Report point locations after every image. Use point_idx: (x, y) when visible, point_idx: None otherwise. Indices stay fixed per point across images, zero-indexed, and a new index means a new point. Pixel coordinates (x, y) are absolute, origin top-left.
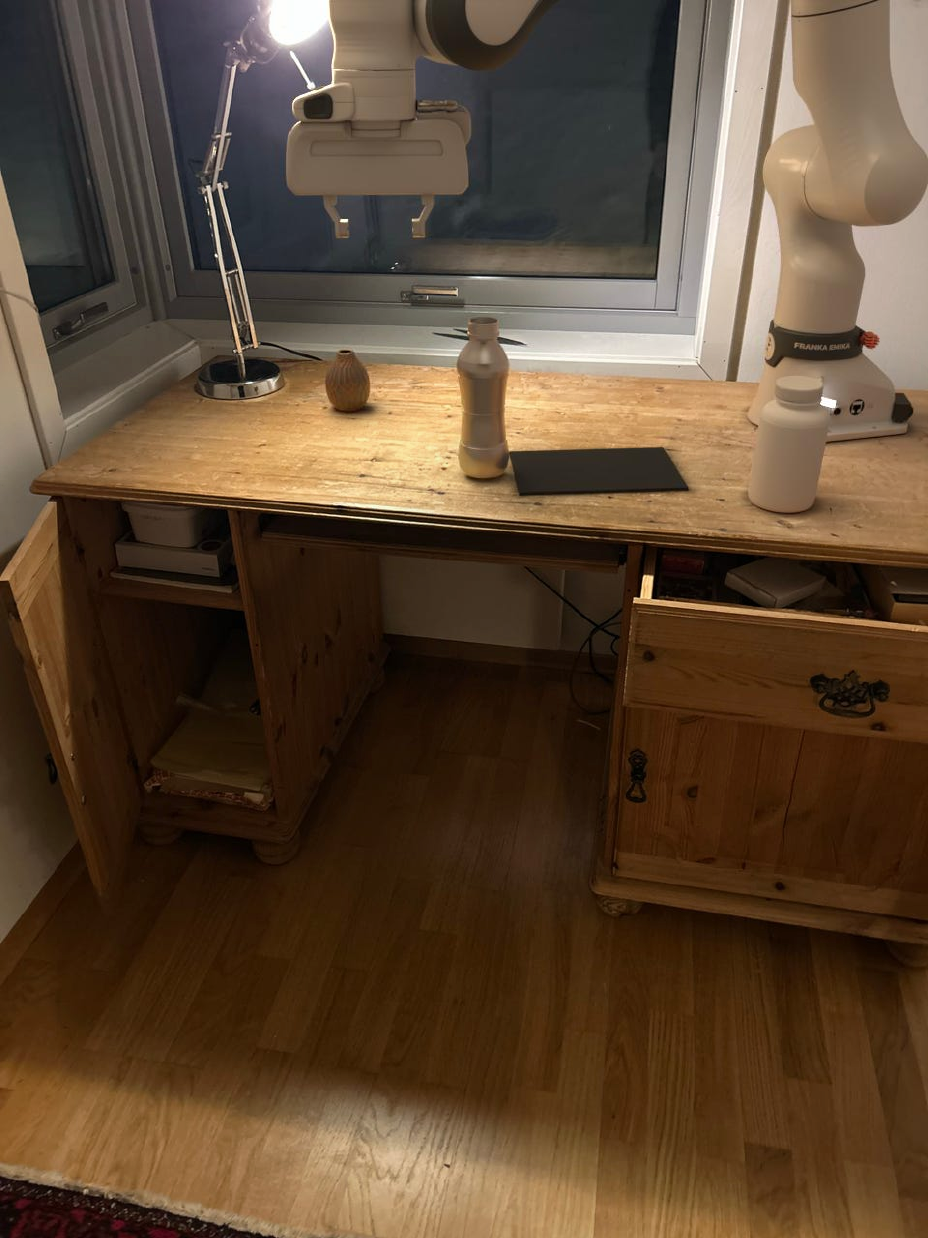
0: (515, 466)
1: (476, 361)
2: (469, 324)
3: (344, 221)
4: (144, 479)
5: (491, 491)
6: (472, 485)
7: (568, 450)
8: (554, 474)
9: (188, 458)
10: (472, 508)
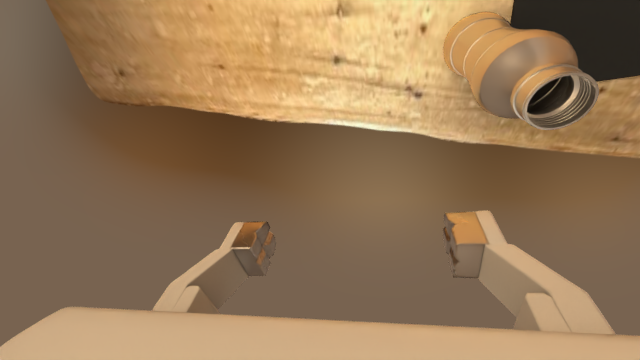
0: (515, 19)
1: (506, 117)
2: (522, 114)
3: (256, 271)
4: (159, 89)
5: None
6: (452, 73)
7: None
8: None
9: (157, 34)
10: (446, 123)
